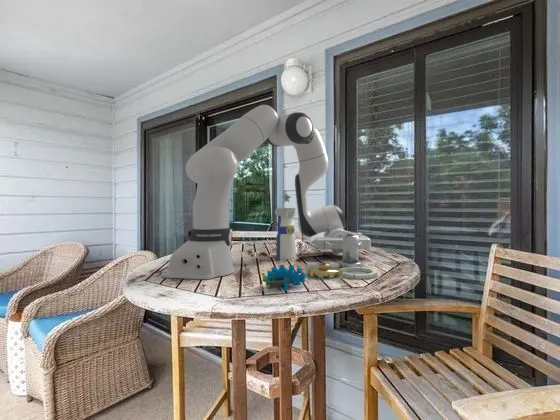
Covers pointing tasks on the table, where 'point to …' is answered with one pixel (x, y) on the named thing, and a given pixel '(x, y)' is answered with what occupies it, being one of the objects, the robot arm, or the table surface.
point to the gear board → (341, 273)
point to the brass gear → (324, 271)
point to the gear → (284, 277)
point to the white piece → (285, 233)
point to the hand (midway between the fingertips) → (345, 246)
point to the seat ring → (358, 276)
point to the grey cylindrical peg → (350, 251)
